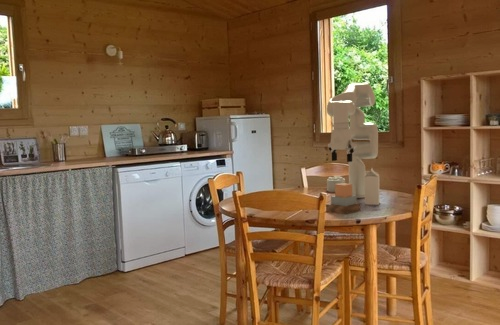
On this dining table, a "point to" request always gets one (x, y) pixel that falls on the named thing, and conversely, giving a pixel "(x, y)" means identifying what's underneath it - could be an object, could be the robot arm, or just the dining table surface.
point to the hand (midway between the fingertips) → (341, 161)
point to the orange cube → (343, 190)
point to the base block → (343, 208)
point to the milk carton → (372, 188)
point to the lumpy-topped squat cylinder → (332, 181)
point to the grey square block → (344, 200)
